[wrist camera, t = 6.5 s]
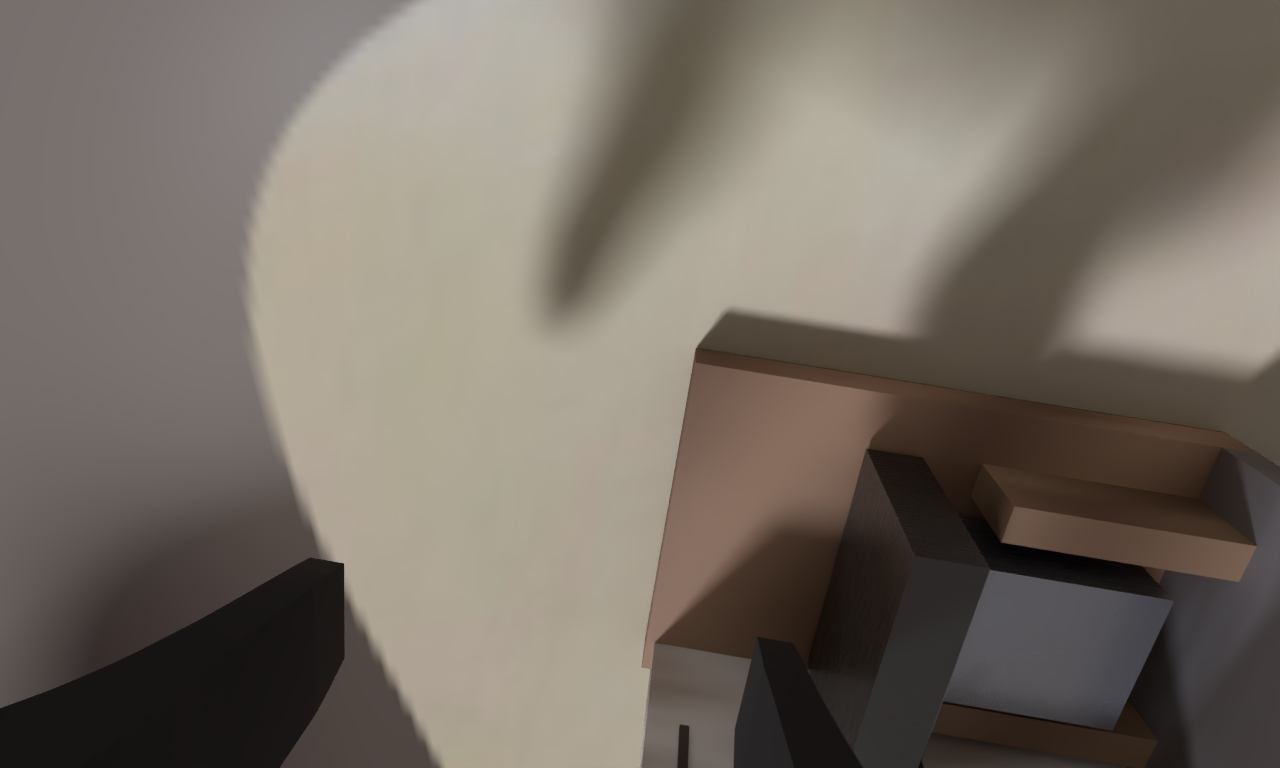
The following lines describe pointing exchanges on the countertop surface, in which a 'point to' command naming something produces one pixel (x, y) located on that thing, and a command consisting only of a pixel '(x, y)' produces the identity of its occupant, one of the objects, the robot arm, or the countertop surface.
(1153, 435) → the miniature room diorama
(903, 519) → the dark grey angled block
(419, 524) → the countertop surface
